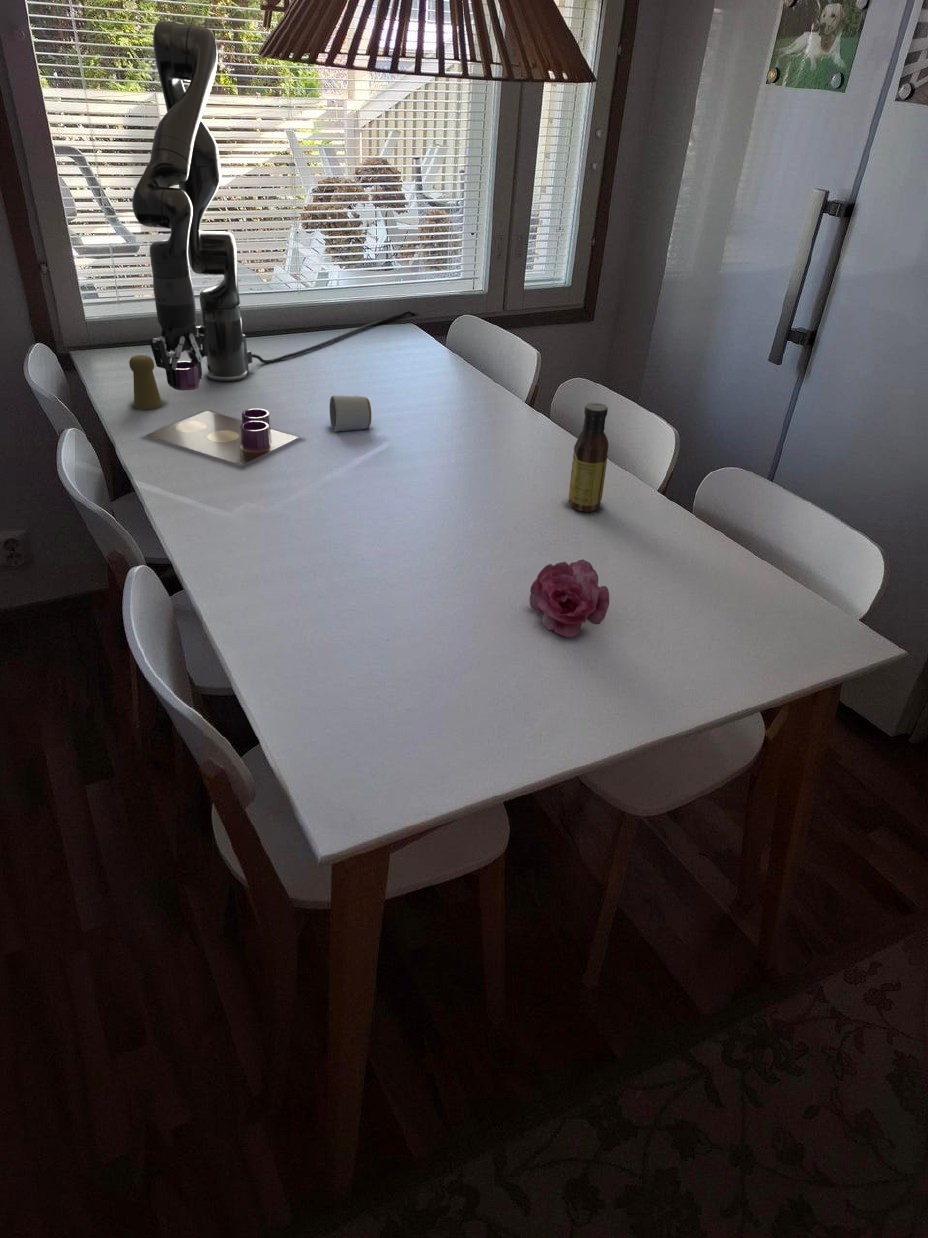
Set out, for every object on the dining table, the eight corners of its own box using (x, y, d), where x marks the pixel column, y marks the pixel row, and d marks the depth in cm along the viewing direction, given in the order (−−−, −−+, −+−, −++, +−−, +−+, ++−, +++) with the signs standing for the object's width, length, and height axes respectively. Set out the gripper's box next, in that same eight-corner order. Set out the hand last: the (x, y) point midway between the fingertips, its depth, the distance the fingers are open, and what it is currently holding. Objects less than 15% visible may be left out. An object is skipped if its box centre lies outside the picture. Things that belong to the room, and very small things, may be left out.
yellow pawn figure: (157, 410, 192) (149, 361, 186) (130, 408, 192) (122, 359, 186) (165, 400, 197) (158, 352, 191) (139, 399, 197) (131, 351, 191)
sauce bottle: (581, 496, 166) (595, 396, 155) (607, 507, 162) (623, 406, 151) (559, 505, 162) (572, 404, 151) (585, 517, 159) (600, 414, 147)
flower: (574, 660, 126) (544, 619, 120) (542, 629, 134) (512, 589, 128) (633, 610, 127) (605, 567, 120) (597, 582, 134) (569, 540, 128)
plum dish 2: (255, 426, 185) (254, 406, 183) (276, 432, 183) (274, 412, 181) (238, 434, 181) (236, 414, 179) (258, 440, 179) (257, 420, 177)
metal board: (207, 413, 192) (207, 410, 192) (299, 439, 182) (299, 437, 182) (146, 437, 179) (145, 435, 178) (241, 468, 169) (241, 465, 168)
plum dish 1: (200, 381, 181) (198, 360, 179) (199, 390, 177) (196, 369, 174) (173, 381, 180) (170, 360, 178) (170, 390, 176) (167, 369, 173)
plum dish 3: (254, 438, 180) (253, 418, 177) (275, 444, 178) (274, 424, 175) (236, 447, 176) (234, 426, 173) (257, 453, 173) (256, 433, 171)
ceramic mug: (373, 433, 187) (372, 399, 182) (336, 436, 184) (335, 402, 180) (361, 417, 195) (360, 384, 191) (325, 420, 192) (324, 386, 188)
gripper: (161, 309, 162) (173, 395, 171) (214, 295, 173) (223, 377, 182) (132, 302, 165) (146, 388, 174) (187, 289, 175) (197, 370, 185)
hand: (185, 382), depth 178 cm, fingers closed on plum dish 1, 5 cm apart
